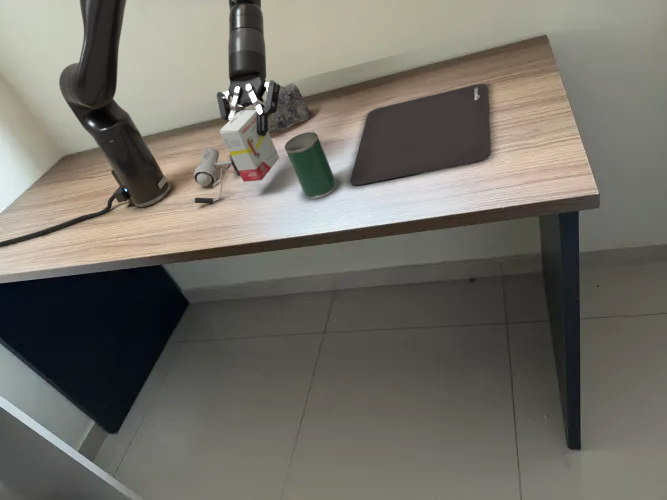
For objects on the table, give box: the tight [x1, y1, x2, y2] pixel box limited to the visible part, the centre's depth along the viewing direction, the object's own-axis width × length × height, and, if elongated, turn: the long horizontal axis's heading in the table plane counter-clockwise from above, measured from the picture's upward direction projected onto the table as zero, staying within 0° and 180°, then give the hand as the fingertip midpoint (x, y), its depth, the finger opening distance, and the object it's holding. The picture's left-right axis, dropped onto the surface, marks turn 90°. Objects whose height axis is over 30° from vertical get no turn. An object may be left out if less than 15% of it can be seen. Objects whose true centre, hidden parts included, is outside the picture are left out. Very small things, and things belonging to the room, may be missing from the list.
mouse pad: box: [349, 83, 491, 186], centre depth 130 cm, size 32×27×1 cm
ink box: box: [219, 108, 280, 183], centre depth 129 cm, size 9×5×12 cm, turn 156°
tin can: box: [284, 131, 338, 200], centre depth 123 cm, size 7×7×11 cm
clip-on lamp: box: [190, 147, 241, 204], centre depth 142 cm, size 12×6×18 cm
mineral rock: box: [264, 82, 311, 136], centre depth 154 cm, size 13×11×10 cm
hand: (249, 137), depth 129 cm, fingers closed on ink box, 5 cm apart
